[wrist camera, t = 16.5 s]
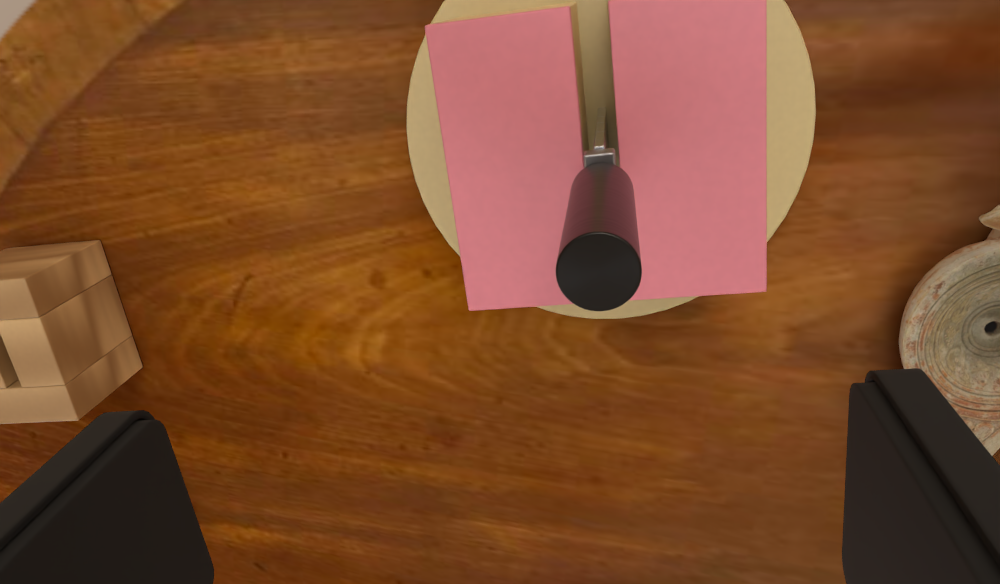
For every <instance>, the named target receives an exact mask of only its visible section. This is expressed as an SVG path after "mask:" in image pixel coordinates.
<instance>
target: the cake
mask: <svg viewBox="0 0 1000 584" xmlns="http://www.w3.org/2000/svg"><path fill="white" fill-rule="evenodd" d="M425 32H426V34H425V37H424V39H423V41H422V44H421V46H420V48H419V51H418V54H417V57H416V61H415V65H414V68H413V72H412V75H411V80H410V87H409V93H408V100H407V139H408V148H409V156H410V160H411V164H412V169H413V173H414V177H415V181H416V183H417V186H418V189H419V191H420V194H421V197H422V199H423V202H424V204H425V206H426V208H427V210H428V212H429V214H430V215H431V217H432V219H433V221H434V223H435V225H436V226H437V228H438V229H439V231H440V232H441V233H442V235H443V236H444V238H445V239H446V241H447V242H448V244H449V245H450V246H451V247H452V248H453V249H454V250H455V251H456V253H457V254H458V255H459V256H460V257H461V264H462V270H463V276H464V283H465V289H466V296H467V302H468V309H469V311H474V310H490V309H505V308H520V307H538V308H541V309H544V310H547V311H551V312H555V313H559V314H563V315H568V316H574V317H583V318H591V319H619V318H627V317H636V316H643V315H647V314H651V313H655V312H659V311H663V310H667V309H670V308H672V307H675V306H678V305H680V304H683V303H686V302H688V301H691V300H692V299H694V298H696V297H698V296H707V295H722V294H738V293H753V292H766V291H767V241H768V240H769V239H770V238H771V237H772V235H773V234H774V232H775V231H776V229H777V228H778V227H779V225H780V224H781V222H782V221H783V219H784V218H785V216H786V214H787V213H788V211H789V209H790V207H791V205H792V203H793V201H794V199H795V197H796V195H797V194H798V191H799V188H800V186H801V183H802V180H803V178H804V175H805V172H806V169H807V166H808V162H809V157H810V153H811V149H812V144H813V139H814V128H815V117H816V106H815V85H814V79H813V74H812V69H811V63H810V58H809V55H808V52H807V49H806V46H805V43H804V40H803V37H802V34H801V31H800V29H799V27H798V25H797V23H796V21H795V19H794V17H793V15H792V13H791V11H790V9H789V7H788V5H787V4H786V2H785V1H784V0H445V1H444V2H443V3H442V5H441V7H440V8H439V10H438V12H437V14H436V15H435V17H434V19H433V20H432V22H431V24H429V25H426V26H425ZM601 107H606V110H607V123H608V136H609V148H613V149H614V150H615V157H616V166H618V167H620V168H621V169H623V170H624V171H625V172H626V173H627V174H628V176H629V177H630V179H631V181H632V184H633V189H634V198H635V208H636V217H637V227H638V236H639V246H640V255H641V265H642V277H641V282H640V285H639V287H638V289H637V291H636V292H635V294H634V295H633V296H632V298H631V299H630V300H628V301H627V302H626V303H625V304H623V305H621V306H620V307H618V308H615V309H612V310H608V311H590V310H585V309H583V308H580V307H578V306H576V305H575V304H573V303H572V302H570V301H569V300H568V299H567V298H566V297H565V296H564V294H563V293H562V291H561V290H560V288H559V286H558V283H557V279H556V263H557V258H558V253H559V248H560V242H561V237H562V232H563V227H564V222H565V217H566V212H567V207H568V201H569V196H570V191H571V187H572V183H573V181H574V179H575V177H576V176H577V174H578V173H579V172H580V171H581V170H582V169H584V160H583V156H584V152H585V151H588V150H594V138H595V129H596V120H597V111H598V108H601Z"/></svg>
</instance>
